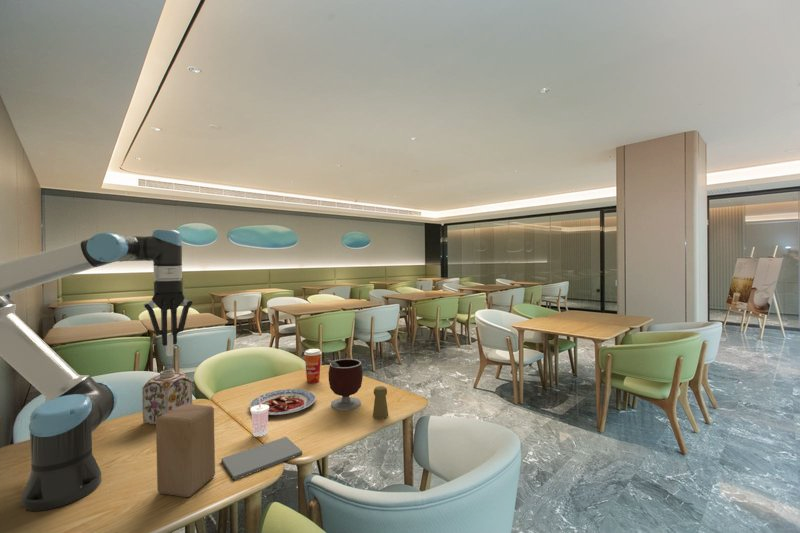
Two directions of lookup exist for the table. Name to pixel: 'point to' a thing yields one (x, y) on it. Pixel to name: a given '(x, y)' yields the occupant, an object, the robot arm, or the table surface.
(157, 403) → the decorative jar
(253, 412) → the beverage cup
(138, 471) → the table surface
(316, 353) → the coffee cup
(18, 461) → the table surface
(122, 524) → the table surface
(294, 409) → the ceramic plate
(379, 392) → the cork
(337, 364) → the mate gourd
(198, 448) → the block
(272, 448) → the mat
